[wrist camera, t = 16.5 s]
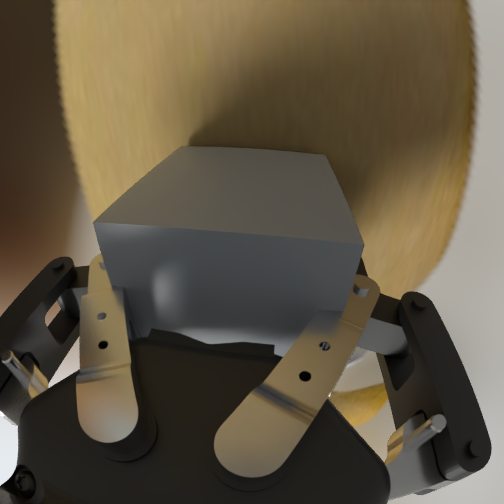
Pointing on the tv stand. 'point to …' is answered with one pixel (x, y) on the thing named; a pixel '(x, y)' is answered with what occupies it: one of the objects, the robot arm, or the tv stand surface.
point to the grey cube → (232, 245)
